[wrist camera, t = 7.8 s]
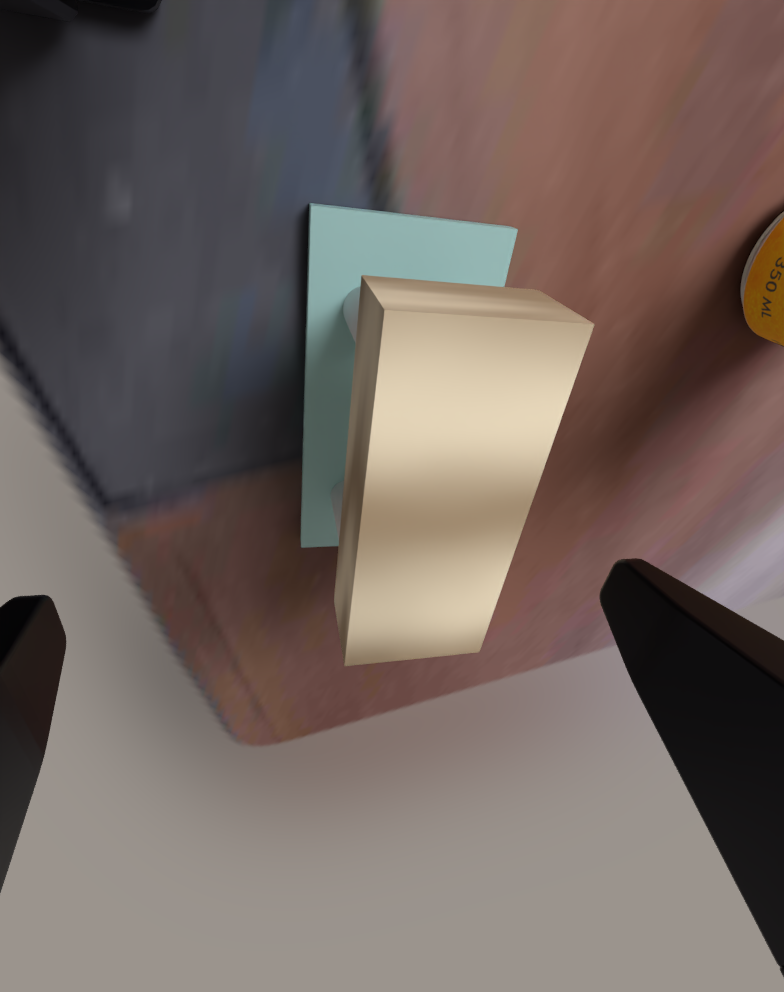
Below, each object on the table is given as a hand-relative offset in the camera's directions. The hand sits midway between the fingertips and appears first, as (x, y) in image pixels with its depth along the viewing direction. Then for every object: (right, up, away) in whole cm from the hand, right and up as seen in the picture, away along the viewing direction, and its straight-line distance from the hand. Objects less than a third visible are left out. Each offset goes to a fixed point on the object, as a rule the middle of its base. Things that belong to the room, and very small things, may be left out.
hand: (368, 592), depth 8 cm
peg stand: (0, +5, +13) cm, 14 cm away
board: (+1, +2, +9) cm, 9 cm away
